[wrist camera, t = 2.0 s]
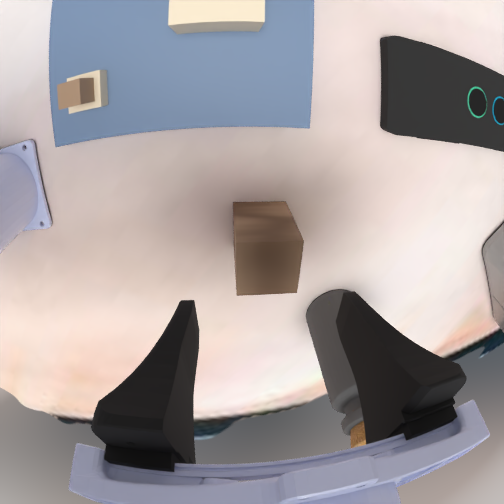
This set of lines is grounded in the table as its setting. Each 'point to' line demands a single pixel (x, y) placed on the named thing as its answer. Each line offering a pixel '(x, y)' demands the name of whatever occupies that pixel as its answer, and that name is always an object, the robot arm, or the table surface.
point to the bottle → (336, 364)
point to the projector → (496, 272)
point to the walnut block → (266, 248)
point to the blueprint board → (178, 65)
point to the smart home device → (439, 95)
